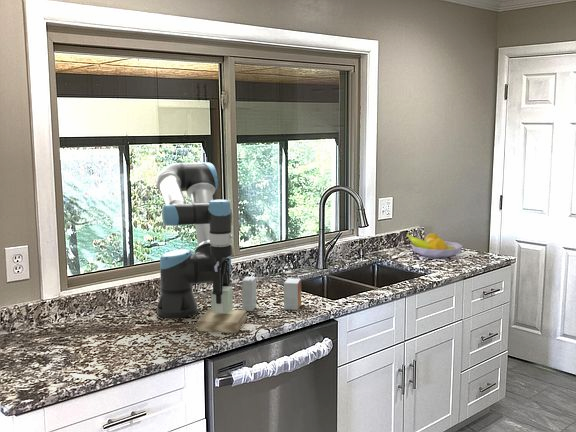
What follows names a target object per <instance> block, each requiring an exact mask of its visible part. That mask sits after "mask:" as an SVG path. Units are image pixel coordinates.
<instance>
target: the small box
mask: <svg viewBox="0 0 576 432" xmlns="http://www.w3.org/2000/svg"><path fill="white" fill-rule="evenodd" d="M301 305H302V278H292V277H288V278H287V279H286V280H285V281H284V282H283V309H284V310H287V311H289V310H291V311H298V310H299V308H300V307H301Z"/></svg>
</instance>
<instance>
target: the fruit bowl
mask: <svg viewBox="0 0 576 432" xmlns="http://www.w3.org/2000/svg"><path fill="white" fill-rule="evenodd" d="M406 236H407V237H408V239H409V241H410V242H411V243H410V245H411V246H410V247H411V248H412V250H413V252H414V253H417V254H419V255H420V256H423V257H428V258H433V259H442V258H451V257H453V256H454V255H457V254H459V253H460V252H461V250H462V249H463V245H462V244H460V243H458V242H456V241H455V242H453V241H448V240H443V239H441V237H440V236H439V235H438V234H437V233H432V232H430V233H428V234H427V235H426V236H425V237H424V239H420V238H418V237H414V236H412V235H410V234H409V233H407V234H406Z"/></svg>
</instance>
